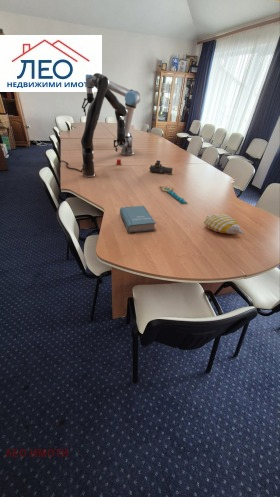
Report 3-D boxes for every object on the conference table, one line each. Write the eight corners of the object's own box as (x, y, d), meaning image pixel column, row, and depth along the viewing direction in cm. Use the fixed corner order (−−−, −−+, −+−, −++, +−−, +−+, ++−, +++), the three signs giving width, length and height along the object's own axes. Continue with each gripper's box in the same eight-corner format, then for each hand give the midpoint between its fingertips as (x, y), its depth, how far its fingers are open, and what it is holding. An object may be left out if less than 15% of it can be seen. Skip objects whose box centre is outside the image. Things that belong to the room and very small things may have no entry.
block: (116, 164, 232) (116, 160, 229) (116, 163, 235) (116, 159, 232) (120, 165, 232) (120, 160, 229) (120, 163, 235) (120, 159, 233)
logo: (159, 187, 187) (159, 186, 186) (169, 186, 189) (169, 185, 189) (175, 204, 161) (175, 203, 161) (187, 203, 164) (187, 202, 163)
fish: (254, 225, 128) (232, 232, 118) (249, 236, 132) (228, 244, 123) (221, 208, 144) (199, 213, 134) (217, 218, 149) (196, 224, 139)
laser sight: (171, 175, 213) (172, 165, 207) (148, 172, 216) (149, 162, 210) (172, 172, 221) (173, 162, 215) (150, 169, 224) (150, 159, 218)
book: (154, 230, 131) (155, 222, 128) (128, 232, 126) (128, 225, 124) (143, 212, 148) (143, 205, 145) (119, 214, 144) (120, 207, 141)
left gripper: (112, 133, 196) (113, 152, 205) (128, 134, 196) (128, 153, 206) (113, 131, 202) (114, 150, 211) (129, 132, 202) (129, 151, 212)
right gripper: (77, 92, 230) (79, 115, 243) (101, 93, 232) (102, 117, 245) (78, 92, 236) (80, 115, 249) (102, 93, 238) (103, 116, 251)
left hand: (121, 152), depth 209 cm, fingers open, 8 cm apart
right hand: (91, 116), depth 247 cm, fingers open, 13 cm apart
